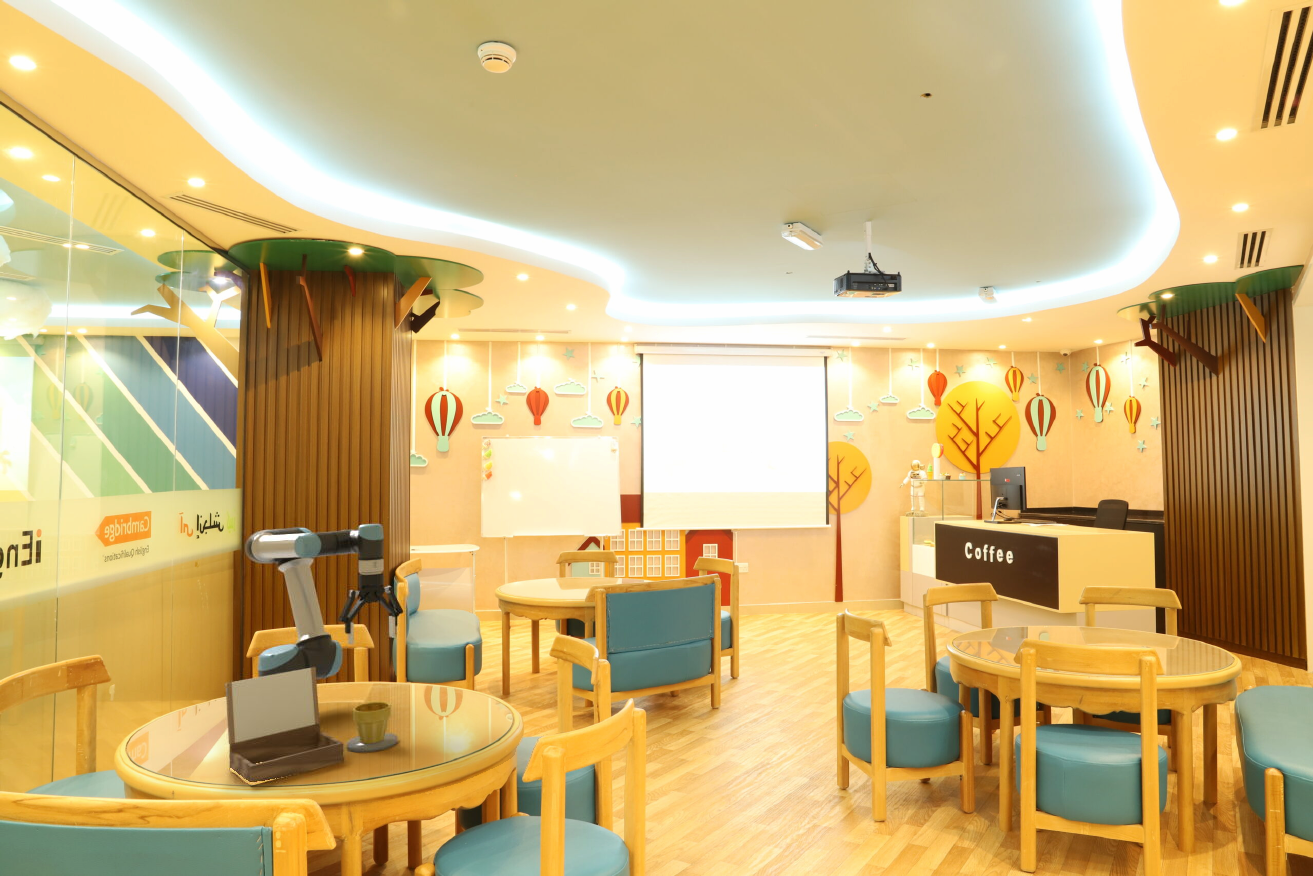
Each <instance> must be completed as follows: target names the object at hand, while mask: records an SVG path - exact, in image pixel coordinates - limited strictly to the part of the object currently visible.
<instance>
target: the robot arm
mask: <svg viewBox="0 0 1313 876" xmlns="http://www.w3.org/2000/svg"><path fill="white" fill-rule="evenodd" d="M383 527H384V526H383V525H382V524H380V523H366V524H361V525H359V526H358V529H343V530H335V531H322V532H321V531H320V532H312V531H311V530H310V529H308V528H306V527H290V528H288V527H287V528H275V529H273V528H272V529H264V530H263V529H262V530H259V531H256V532H255V533H253V534H251V535H250V536H249V537H248V538H247V540H246V542H245V545H244V549H245V554H246V556H247V557H248V558H249V559H250V560H251V561H253V562H255V563H257V564H276V565H277V570H278V571H280V572H281V573H283V575H284V579H285V585H286V588H287V589H286V590H287V593H288V598H289V602H290V607H291V611H292V616H293V620H294V625H295V629H296V633H297V640H296V642H295V643H294V644H292V643H289V644H283V645H282V644H281V645H277V646H272V647H270V648H267V649H265V650H264V651H262V652H261V653H260V654H259V656H258V664H257V665H258V666H257V670H258V671H257V672H258V677H263V676H268V675H274V674H279V673H285V672H291V671H296V670H302V669H307V668H312V667H316V680H321V679H322V680H324V679H325V678H328V677H332V676H334V675H336V674H337V673H338V672H339V670H340V669H341V666H342V663H343V656H344V655H343V649H342V645H341V643H340V642H339V641H337V640H335V639H332V634H331V633H329V632H327V631H326V630H325V625H324V622H323V616H322V613H321V612H322V611H321V607H320V604H319V600H318V599H319V598H318V595H317V592H316V587H315V581H314V578H313V574H312V570H311V565H312V564H313V563H314V558H318V557H320V558H321V557H327V556H338V555H348V554H349V555H350V554H358V573H359V574H358V590H353V589H350V590H349V591H348V597H347V599H346V601H345V604H344V606H343V608H342V611H341V612H340V614H339V617H338V622H341V623H344V633H345V634H346V635H347V644H348V645H351V646H352V645H355V624H354V622H353V620H354V619H355V617H357V615H358V614H359V612H360V611H361V610H362V608H363V606H365V605H366V604H372V603H380V605H381V606H383V608H384V609H385V610H386V611H387V612H388V613H389V614H390V615H389V616H388V637H389V638H393V639H394V638H396V627H397V626H398V617H399V616H400V615H401V614H403V613H404V610H403V608H402V606H401V604H400V602H399V600H398V597H397V596H396V594H395V589H394V586H391V585H387V586H384V583H385V581H384V580H385V579H384V577H385V576H384V573H383V572H384V569H385V568H384V563H385V561H384V540H385V539H384V538H385V534H384V528H383ZM384 593H386V594H387V596H388V598H389V601H390V602H391V604H392V605H393V607H392V605H391V604H390V603H389V602H388V601H387V599H386V598H385V597H384V596H383V595H384ZM357 597H359V598H358V599H357V601H356V603H355V600H356V598H357ZM354 603H355V605H354ZM353 605H354V606H353ZM352 607H353V608H352Z"/></svg>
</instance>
